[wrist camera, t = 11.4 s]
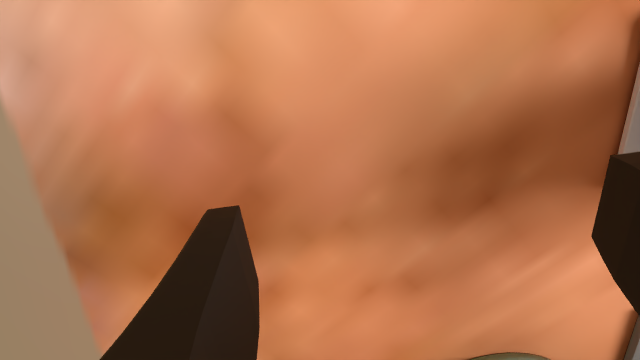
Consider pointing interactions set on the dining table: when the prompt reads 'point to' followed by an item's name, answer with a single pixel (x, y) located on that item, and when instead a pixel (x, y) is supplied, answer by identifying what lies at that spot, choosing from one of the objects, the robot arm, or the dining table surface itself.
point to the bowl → (511, 357)
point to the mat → (634, 344)
